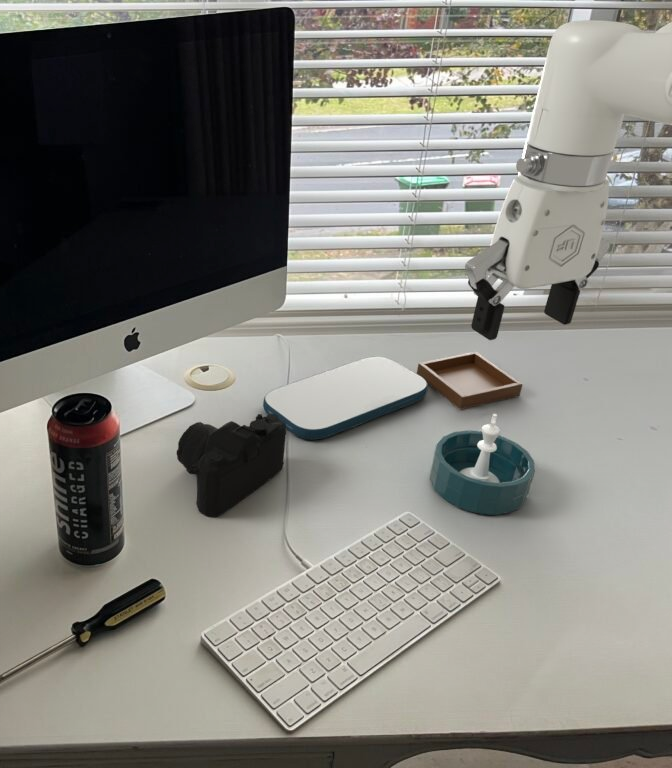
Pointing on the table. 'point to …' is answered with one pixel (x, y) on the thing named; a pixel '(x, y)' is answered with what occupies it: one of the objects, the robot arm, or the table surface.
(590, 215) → the robot arm
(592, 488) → the table surface
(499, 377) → the tray
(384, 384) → the external hard drive
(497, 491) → the dish
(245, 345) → the table surface
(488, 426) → the chess piece
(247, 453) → the film camera
